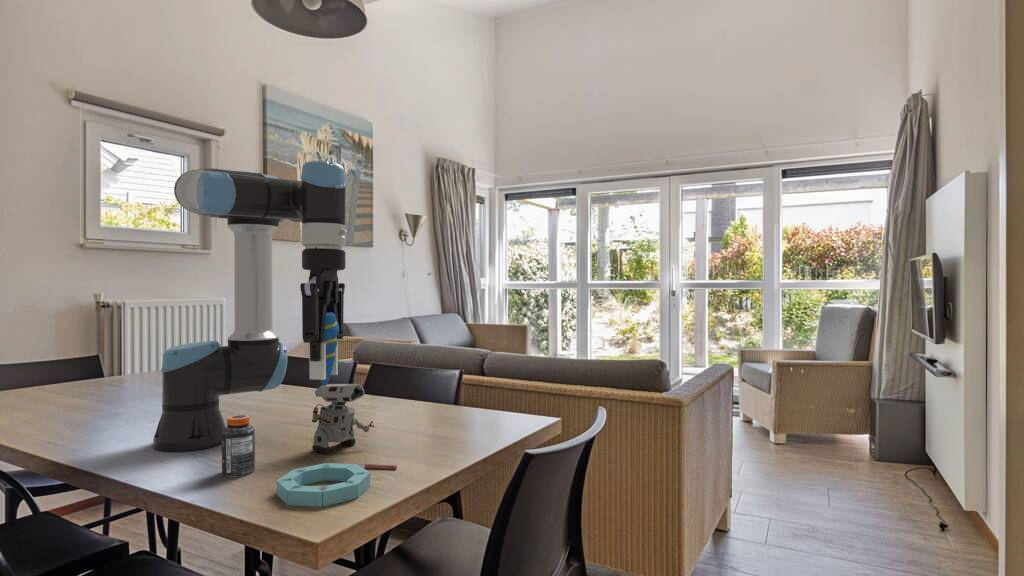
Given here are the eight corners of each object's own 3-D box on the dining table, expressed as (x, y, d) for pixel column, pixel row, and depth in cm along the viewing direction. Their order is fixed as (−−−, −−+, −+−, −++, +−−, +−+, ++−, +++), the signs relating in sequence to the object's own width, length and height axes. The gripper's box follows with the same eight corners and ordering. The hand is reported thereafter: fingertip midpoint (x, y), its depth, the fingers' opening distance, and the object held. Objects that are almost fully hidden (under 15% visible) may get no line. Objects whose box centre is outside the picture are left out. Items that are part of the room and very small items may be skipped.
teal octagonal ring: (263, 504, 98) (263, 489, 98) (304, 474, 113) (304, 462, 113) (347, 508, 97) (347, 493, 97) (378, 478, 111) (378, 465, 111)
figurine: (343, 459, 124) (343, 389, 123) (307, 450, 129) (307, 384, 129) (374, 448, 131) (374, 383, 131) (338, 441, 137) (338, 378, 137)
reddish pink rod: (363, 468, 117) (363, 464, 117) (365, 467, 118) (365, 463, 118) (396, 469, 116) (396, 465, 116) (397, 468, 117) (397, 464, 117)
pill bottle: (229, 468, 117) (229, 413, 117) (259, 467, 117) (259, 412, 117) (216, 478, 111) (216, 420, 111) (248, 477, 111) (248, 419, 111)
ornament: (322, 389, 101) (321, 304, 101) (302, 386, 104) (302, 303, 104) (344, 384, 106) (344, 303, 105) (325, 382, 108) (325, 302, 108)
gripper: (322, 245, 95) (322, 385, 96) (361, 251, 113) (361, 370, 113) (279, 245, 96) (279, 384, 96) (325, 251, 114) (325, 369, 114)
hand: (324, 376), depth 105 cm, fingers closed on ornament, 4 cm apart
